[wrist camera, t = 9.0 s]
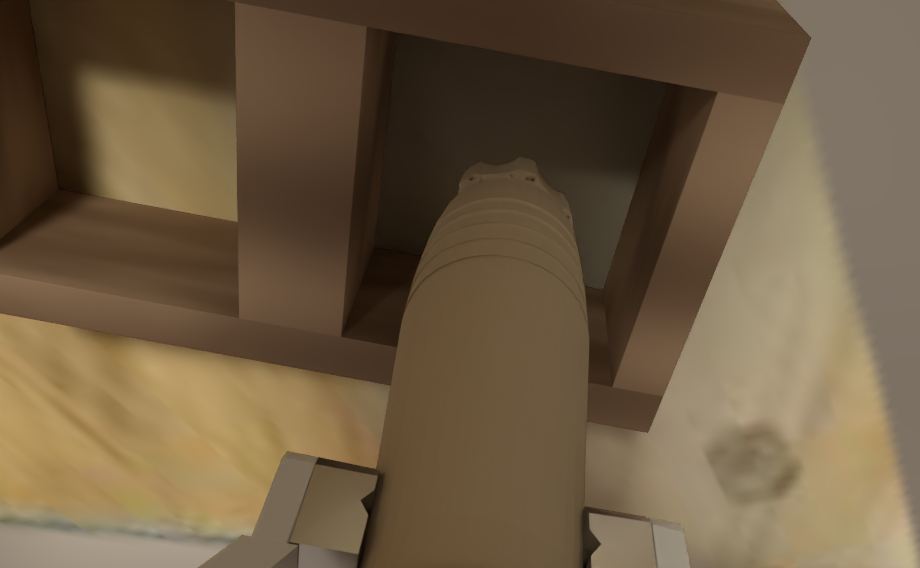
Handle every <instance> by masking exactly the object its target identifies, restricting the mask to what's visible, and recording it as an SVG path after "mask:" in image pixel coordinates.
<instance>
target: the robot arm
mask: <svg viewBox="0 0 920 568" xmlns="http://www.w3.org/2000/svg"><path fill="white" fill-rule="evenodd" d="M379 476H380V470H377V469H373V468H368V467H363V466H358V465H354V464H349V463H344V462H339V461H335V460H330V459H325V458H320V457H314V456H309V455H304V454H299V453H294V452H289V451H287V452H286V454H285V455H284V457H283V458H282V460H281V462H280V465H279V467H278V470H277V472H276V475H275V477H274V480H273V483H272V485H271V488H270V490H269V493H268V495H267V498H266V500H265V503H264V506H263V508H262V511H261V513H260V516H259V518H258V521H257V523H256V526H255V529H254V531H253V534H252V536H245V535H241V536H240V537H239V538H237V539H236V540H235V541H233V542H232V543H231V544H229V545H228V546H227V547H225V548H224V549H222V550H221V551H220V552H218V553H217V554H216V555H214V556H213V557H212V558H210V559H209V560H208V561H206V562H205V563H204V564H202V565H201V566H200V567H198V568H359V565H360V561H361V557H362V552H363V548H364V544H365V538H366V530H367V522H368V519H369V516H370V514H371V512H372V508H373V504H374V499H375V495H376V490H377V485H378V481H379ZM583 568H690V562H689V556H688V551H687V545H686V539H685V534H684V529H683V528H682V526H681V524H679V523H674V522H668V521H663V520H657V519H652V518H646V517H644V516H638V515H632V514H626V513H620V512H614V511H608V510H602V509H597V508H591V507H585V508H584V509H583Z"/></svg>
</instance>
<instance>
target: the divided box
mask: <svg viewBox="0 0 920 568" xmlns="http://www.w3.org/2000/svg"><path fill="white" fill-rule="evenodd" d="M226 1H231V2H235V53H236V127H237V200H238V222H233V221H227V220H222V219H216V218H211V217H206V216H200V215H195V214H189V213H184V212H179V211H173V210H168V209H162V208H157V207H152V206H146V205H141V204H135V203H130V202H125V201H119V200H114V199H108V198H103V197H98V196H92V195H87V194H81V193H76V192H71V191H65V190H60V189H58V183H57V176H56V170H55V164H54V158H53V152H52V146H51V140H50V133H49V127H48V121H47V115H46V109H45V103H44V97H43V90H42V84H41V78H40V72H39V66H38V60H37V54H36V47H35V41H34V35H33V29H32V23H31V17H30V11H29V4H28V0H0V313H2V314H7V315H12V316H18V317H23V318H29V319H34V320H40V321H45V322H50V323H56V324H61V325H67V326H72V327H78V328H83V329H88V330H94V331H99V332H105V333H110V334H115V335H121V336H126V337H132V338H137V339H143V340H148V341H153V342H159V343H164V344H170V345H175V346H181V347H186V348H191V349H197V350H202V351H208V352H213V353H218V354H224V355H229V356H235V357H240V358H246V359H251V360H256V361H262V362H267V363H273V364H278V365H284V366H289V367H294V368H300V369H305V370H311V371H316V372H322V373H327V374H332V375H338V376H343V377H349V378H354V379H359V380H365V381H370V382H376V383H381V384H387V385H391V381H392V375H393V370H394V364H395V358H396V352H397V346H398V340H399V334H400V329H401V324H402V319H403V315H404V312H405V308H406V304H407V300H408V297H409V294H410V290H411V286H412V283H413V279H414V277H415V273H416V270H417V268H418V265H419V262H420V260H421V257H422V256H417V255H411V254H406V253H400V252H395V251H389V250H384V249H379V248H374V244H375V235H376V225H377V216H378V207H379V197H380V188H381V178H382V169H383V159H384V150H385V140H386V131H387V121H388V112H389V103H390V93H391V84H392V74H393V65H394V55H395V46H396V36H397V32H398V33H403V34H409V35H414V36H420V37H425V38H430V39H436V40H441V41H447V42H452V43H457V44H463V45H468V46H473V47H479V48H484V49H490V50H495V51H500V52H506V53H511V54H516V55H522V56H527V57H533V58H538V59H543V60H549V61H554V62H559V63H565V64H570V65H576V66H581V67H586V68H592V69H597V70H603V71H608V72H613V73H619V74H624V75H629V76H635V77H640V78H646V79H651V80H656V81H662V82H667V83H669V85H668V88H667V91H666V94H665V97H664V101H663V104H662V107H661V110H660V113H659V116H658V119H657V122H656V126H655V129H654V132H653V135H652V138H651V141H650V144H649V148H648V151H647V154H646V157H645V160H644V163H643V166H642V170H641V173H640V176H639V179H638V182H637V185H636V188H635V192H634V195H633V198H632V201H631V204H630V207H629V210H628V213H627V217H626V220H625V223H624V226H623V229H622V232H621V235H620V239H619V242H618V245H617V248H616V251H615V254H614V257H613V261H612V264H611V267H610V270H609V273H608V276H607V279H606V283H605V286H604V289H603V290H600V289H595V288H590V287H585V296H586V306H587V318H588V334H589V368H588V397H587V422H593V423H598V424H603V425H609V426H614V427H620V428H625V429H631V430H636V431H641V432H647V433H648V432H649V429H650V427H651V424H652V422H653V419H654V417H655V415H656V412H657V410H658V407H659V405H660V403H661V400H662V398H663V395H664V393H665V390H666V388H667V386H668V383H669V381H670V378H671V376H672V374H673V371H674V369H675V366H676V364H677V361H678V359H679V357H680V354H681V352H682V349H683V347H684V345H685V342H686V340H687V337H688V335H689V332H690V330H691V328H692V325H693V323H694V320H695V318H696V315H697V313H698V311H699V308H700V306H701V303H702V301H703V299H704V296H705V294H706V291H707V289H708V286H709V284H710V282H711V279H712V277H713V274H714V272H715V270H716V267H717V265H718V262H719V260H720V257H721V255H722V253H723V250H724V248H725V245H726V243H727V240H728V238H729V236H730V233H731V231H732V228H733V226H734V224H735V221H736V219H737V216H738V214H739V211H740V209H741V207H742V204H743V202H744V199H745V197H746V195H747V192H748V190H749V187H750V185H751V182H752V180H753V178H754V175H755V173H756V170H757V168H758V166H759V163H760V161H761V158H762V156H763V153H764V151H765V149H766V146H767V144H768V141H769V139H770V136H771V134H772V132H773V129H774V127H775V124H776V122H777V120H778V117H779V115H780V112H781V110H782V107H783V105H784V103H785V100H786V98H787V95H788V93H789V91H790V88H791V86H792V83H793V81H794V78H795V76H796V74H797V71H798V69H799V66H800V64H801V61H802V59H803V57H804V54H805V52H806V49H807V47H808V45H809V42H810V40H811V37H810V36H809V35H808V34H807V33H806V32H805V31H804V30H803V29H802V27H801V26H800V25H799V24H798V23H797V22H796V21H795V20H794V19H793V18H792V17H791V16H790V15H789V14H788V13H787V11H786V10H785V9H784V8H783V7H782V6H781V5H780V4H779V3H778V2H777V1H776V0H226Z"/></svg>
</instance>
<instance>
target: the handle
mask: <svg viewBox="0 0 920 568" xmlns="http://www.w3.org/2000/svg"><path fill="white" fill-rule="evenodd" d="M588 368H589V334H588V318H587V306H586V296H585V287H584V281H583V275H582V268H581V262H580V257H579V252H578V247H577V243H576V239H575V235H574V233H573V220H572V215H571V211H570V206H569V204H568V202H567V199H566V197H565V195H564V194H563V193H561V192H559V191H555V190H554V189H552V188H551V187H550V186H549V185H548V184H547V183H546V182H545V180H544V179H543V178H542V176H541V175H540V173H539V171H538V169H537V164H536V162H535V161H533V160H530V159H528V158H524V157H518V158H517V159H516V160H514V161H512V162H509V163H505V164H500V165H491V164H486V163H485V162H477V163H475V164H473V165H472V166H470V167H469V168H468V169H467V170H466V171H465V173H464V174H463V176H462V178H461V181H460V183H459V191H458V194H457V196H456V197H455V198H454V199H453V200H452V201H451V202H450V203H449V204H448V206H447V207H446V209H445V210H444V212H443V213H442V215H441V216H440V218H439V219H438V221H437V223H436V225H435V227H434V229H433V231H432V233H431V235H430V237H429V240H428V242H427V244H426V247H425V249H424V252H423V255H422V257H421V260H420V262H419V265H418V268H417V270H416V273H415V277H414V279H413V283H412V286H411V290H410V294H409V297H408V300H407V304H406V308H405V312H404V315H403V319H402V324H401V329H400V334H399V340H398V346H397V352H396V358H395V364H394V370H393V375H392V381H391V387H390V393H389V399H388V405H387V411H386V417H385V422H384V428H383V434H382V440H381V446H380V451H379V457H378V462H377V467H376V469H377V470H380V476H379V481H378V485H377V490H376V495H375V499H374V504H373V508H372V512H371V514H370V516H369V519H368V522H367V530H366V538H365V544H364V548H363V552H362V557H361V561H360V565H359V568H583V509H584V496H585V456H586V427H587V397H588Z"/></svg>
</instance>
